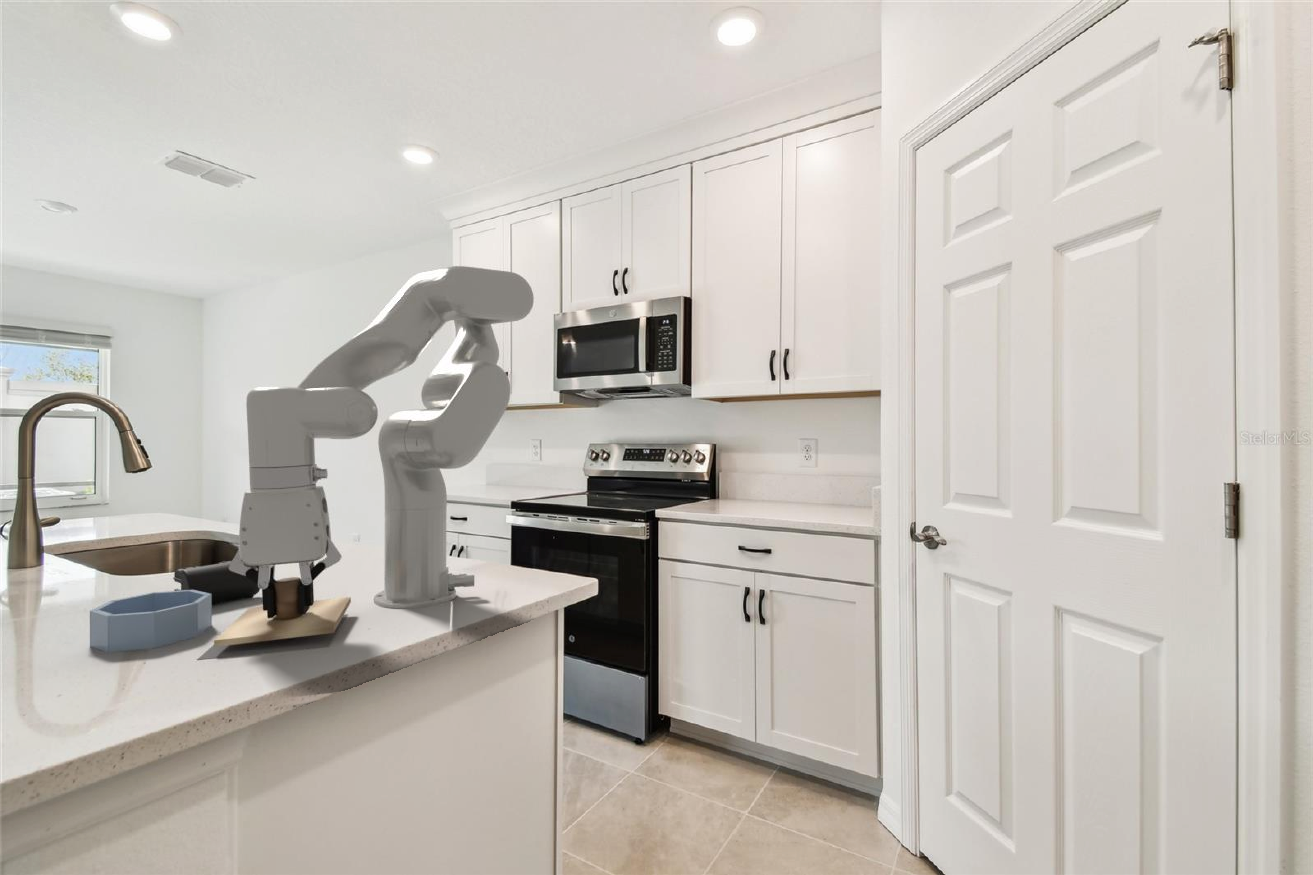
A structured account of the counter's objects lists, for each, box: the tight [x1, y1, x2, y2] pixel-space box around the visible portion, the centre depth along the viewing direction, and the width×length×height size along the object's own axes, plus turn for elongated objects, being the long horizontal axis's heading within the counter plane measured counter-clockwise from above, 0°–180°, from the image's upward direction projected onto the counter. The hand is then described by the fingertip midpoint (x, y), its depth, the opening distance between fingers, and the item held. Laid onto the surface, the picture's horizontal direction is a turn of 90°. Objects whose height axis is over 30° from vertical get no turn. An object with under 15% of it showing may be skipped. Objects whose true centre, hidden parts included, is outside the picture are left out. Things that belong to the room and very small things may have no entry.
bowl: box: [89, 589, 213, 653], centre depth 79 cm, size 11×11×5 cm
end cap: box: [172, 559, 261, 606], centre depth 94 cm, size 10×7×7 cm
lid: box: [213, 576, 352, 647], centre depth 80 cm, size 13×13×6 cm
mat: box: [196, 614, 349, 661], centre depth 79 cm, size 14×14×1 cm
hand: (289, 612), depth 80 cm, fingers closed on lid, 3 cm apart
